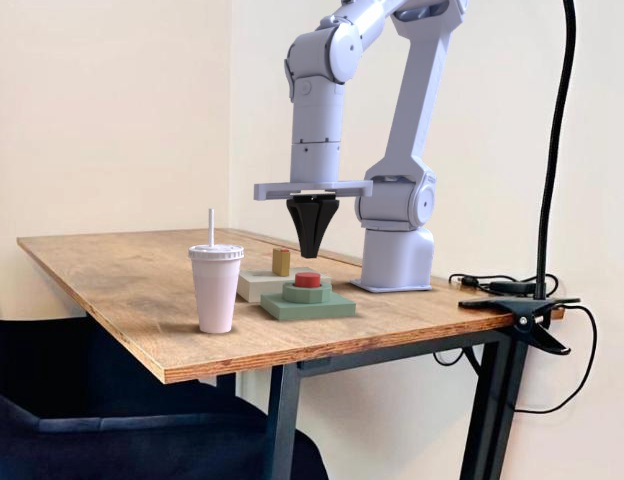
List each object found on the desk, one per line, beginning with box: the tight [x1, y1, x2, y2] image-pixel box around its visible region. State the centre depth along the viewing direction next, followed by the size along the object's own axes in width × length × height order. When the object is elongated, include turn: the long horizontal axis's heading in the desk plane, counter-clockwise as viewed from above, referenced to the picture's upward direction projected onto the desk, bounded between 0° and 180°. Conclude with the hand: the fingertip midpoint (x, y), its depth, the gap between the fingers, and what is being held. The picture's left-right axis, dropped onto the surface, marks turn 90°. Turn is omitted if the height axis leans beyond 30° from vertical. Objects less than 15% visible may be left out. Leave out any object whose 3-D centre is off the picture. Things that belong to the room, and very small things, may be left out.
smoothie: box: [187, 208, 245, 334], centre depth 64 cm, size 6×6×14 cm
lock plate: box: [236, 266, 332, 303], centre depth 82 cm, size 12×9×3 cm
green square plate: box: [259, 281, 357, 321], centre depth 72 cm, size 10×8×4 cm
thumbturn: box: [271, 247, 291, 276], centre depth 81 cm, size 4×1×4 cm, turn 7°
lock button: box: [295, 272, 321, 288], centre depth 72 cm, size 3×3×2 cm
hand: (308, 257), depth 71 cm, fingers closed
